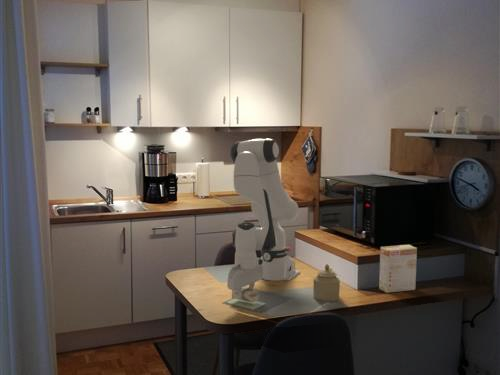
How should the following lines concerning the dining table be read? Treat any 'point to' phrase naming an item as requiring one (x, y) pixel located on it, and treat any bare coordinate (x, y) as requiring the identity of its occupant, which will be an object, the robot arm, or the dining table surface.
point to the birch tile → (247, 294)
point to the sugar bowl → (326, 285)
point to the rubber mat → (260, 302)
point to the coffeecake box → (397, 268)
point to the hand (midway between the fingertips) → (245, 295)
